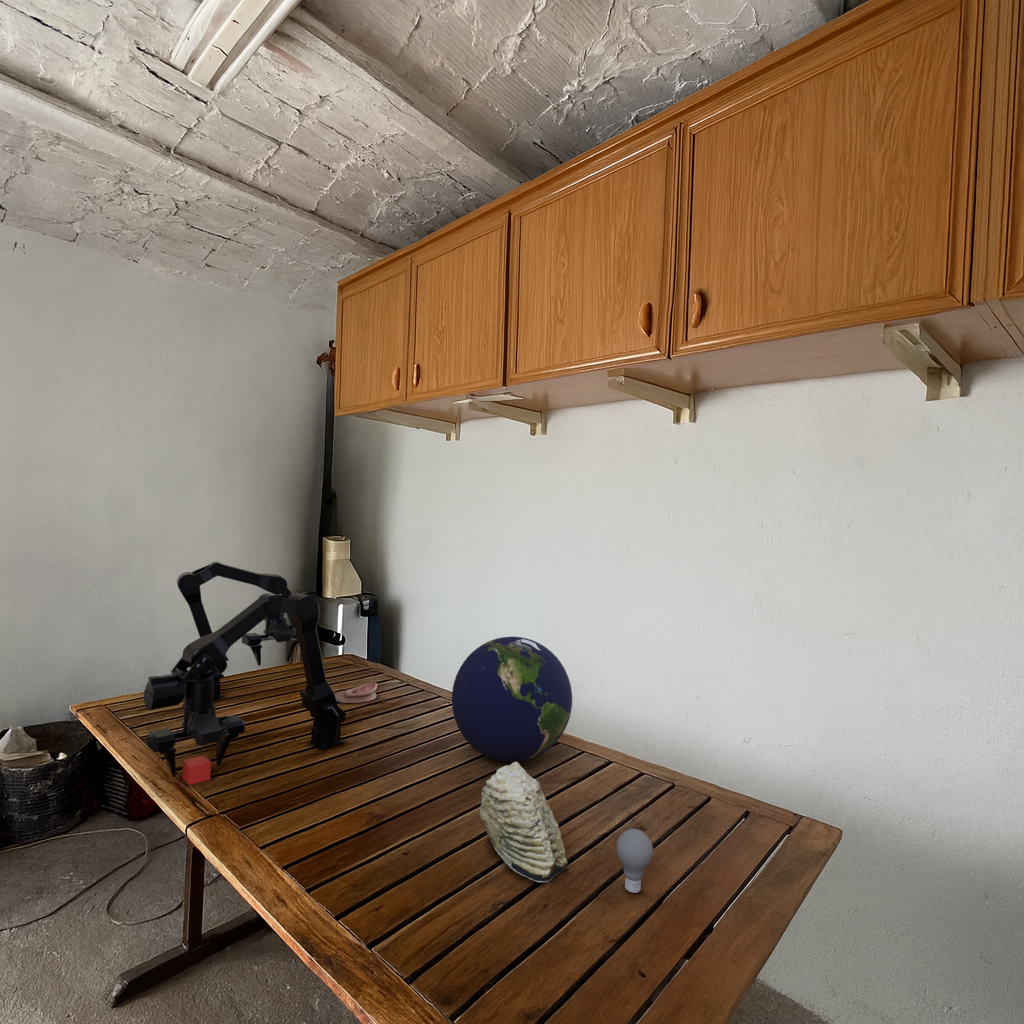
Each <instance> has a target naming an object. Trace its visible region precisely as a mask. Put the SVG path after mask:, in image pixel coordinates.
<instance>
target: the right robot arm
mask: <svg viewBox="0 0 1024 1024" xmlns="http://www.w3.org/2000/svg"><path fill="white" fill-rule="evenodd" d="M265 593H266V594H265ZM265 593H262V594H260V595H259V596H258V598H257V599H256V600H255V601H253V602H252V603H251V604H249V605H248V606H247V607H245V608H244V609H243V610H242V611H241V612H239V613H238V614H237V615H235V616H234V617H233V618H231V619H230V620H229V621H228V622H226V623H225V624H223V626H221V627H220V628H219V629H217V630H215V631H212V633H211V634H208V635H205V636H203V637H201V638H200V637H199V638H197V639H195V640H193V641H192V642H190V643H188V644H187V645H186V646H184V648H183V650H182V655H181V657H180V659H179V660H178V661H177V663H176V664H175V665H174V666H173V668H172V669H171V671H170V673H169V674H163V675H152V676H149V677H148V679H147V682H146V685H145V688H144V690H143V702H144V706H145V709H146V710H147V711H155V710H160V709H164V708H169V707H175V706H179V705H180V703H182V709H183V721H182V722H181V728H182V729H183V730H179V731H172V730H170V729H169V728H168V727H167V728H161V729H156V730H152V731H149V733H148V734H147V736H146V745H147V747H149V749H151V751H152V752H153V753H158V754H159V755H163V757H164V759H165V761H166V764H167V767H168V769H169V772H170V775H171V777H172V778H176V776H177V766H176V754H177V753H176V752H177V748H175V745H176V742H178V741H183V740H188V739H192V738H193V739H194V741H195V744H196V745H197V746H199V747H202V746H206V745H209V744H212V743H214V744H216V747H215V762H216V763H215V764H216V766H217V767H221V764H222V762H223V759H224V758H225V755H226V752H227V750H228V747H229V746H230V744H231V743H232V742H233V740H235V739H237V738H239V735H241V734H244V733H245V732H246V723H245V720H243V719H242V718H240V717H239V716H238V715H236V714H230V715H223V716H217V714H216V706H215V705H214V700H213V690H214V679H220V680H221V679H224V678H225V674H223V673H220V672H219V671H218V669H217V668H216V667H215V666H216V665H217V664H218V663H219V662H220V661H221V660H222V659H223V658H224V656H225V655H227V653H228V651H229V650H230V648H231V647H232V646H233V645H234V644H235V643H237V642H238V641H239V640H240V639H242V637H243V636H244V635H245V634H248V633H250V631H252V630H253V629H254V628H256V626H258V625H259V624H261V622H263V621H265V620H264V619H265V618H266V617H268V616H269V615H270V614H271V613H273V612H281V613H285V614H286V615H287V618H288V620H289V622H290V623H291V625H293V626H294V628H295V629H296V631H297V636H298V641H299V643H298V646H299V650H300V656H301V661H302V667H303V670H304V671H303V672H304V675H305V680H306V686H305V688H304V689H303V690H301V691H299V694H300V697H301V702H302V703H301V707H303V708H305V711H307V712H309V714H310V717H311V718H313V721H312V722H313V723H312V727H311V730H310V731H311V732H310V733H311V735H310V739H309V740H308V743H309V744H310V745H313V746H314V747H316V748H318V749H320V750H327V749H329V748H333V747H336V746H340V745H343V744H344V743H345V741H344V740H343V739H341V737H342V735H341V733H342V723H344V722H345V720H346V717H347V712H346V711H344V709H342V708H341V707H340V706H339V705H338V704H339V703H338V701H337V699H336V697H335V694H336V693H335V691H334V690H333V688H332V687H331V685H330V684H329V682H328V681H327V677H326V672H325V667H324V661H323V655H322V651H321V646H320V640H319V636H318V635H319V634H318V630H317V626H318V622H319V620H320V604H319V600H318V599H317V598H316V597H314V596H312V595H310V594H309V595H305V594H301V593H302V592H292V593H293V594H291V595H290V596H286V595H281V594H280V595H275V594H272V593H268V592H265ZM188 669H189V670H188Z"/></svg>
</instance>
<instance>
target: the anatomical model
mask: <svg viewBox="0 0 1024 1024" xmlns="http://www.w3.org/2000/svg"><path fill="white" fill-rule="evenodd" d="M377 688H378V683H377V682H370V683H366V684H363V685H359V686H356V687H353V688H349V689H346V690H343V691H340V692H337V693H334V694H335V697H336V699H337V702H339V703H342V704H344V703H345V704H355V703H357V704H358V703H366V702H370V701H374V700H375V699H376V698H377V696H378V695H377V693H376V691H377Z"/></svg>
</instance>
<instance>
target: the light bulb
mask: <svg viewBox="0 0 1024 1024" xmlns="http://www.w3.org/2000/svg"><path fill="white" fill-rule="evenodd" d="M615 849H616V854H617V857H618V859H619V861H620V863H621V865H622V867H623V873H624V874H623V875H624V876H625V878H624V888H625V890H627V891H628V892H630V893H634V894H635V893H639V892H640V891H641V889H642V887H641V886H642V879H643V877H644V875H645V871H646V868H647V867H648V866H649V864H650V863H651V861H652V859H653V855H654V847H653V843H652V841H651V838H649V836H648V835H647V834H646V833H645V832H643V831H642V830H641V829H636V828H629V829H627V830H625V831H623V832H622V833H621V834H620V835H619V837H618V839H617V841H616V847H615Z"/></svg>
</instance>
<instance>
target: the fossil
mask: <svg viewBox="0 0 1024 1024" xmlns="http://www.w3.org/2000/svg"><path fill="white" fill-rule="evenodd" d="M479 819H480V820H481V822H482V823H483V827H484V829H485V832H486V833H487V836H488V838H489V840H490V842H491V844H492V845H493V848H494V850H495V852H496V853H497V854H498V856H500V858H501V859H502V861H503V862H504V863H505V864H506V865H507V867H509V868H510V869H511V870H513V871H514V873H517V874H519V875H520V876H522V877H525V878H527V879H528V880H531V881H533V882H536V883H548V882H550V881H552V880H553V879H554V878H555V877H556V876H557V875H560V874H561V873H563V872H564V871H565V870H566V868H567V867H568V866H569V863H568V859H567V856H566V848H565V847H564V841H563V838H562V834H561V831H560V826H559V824H558V822H557V821H556V818H555V817H554V813H553V811H552V810H551V807H550V805H549V803H548V802H547V799H546V796H545V794H544V790H543V789H542V786H541V784H540V781H539V780H537V779H535V778H533V777H532V776H531V775H529V773H528V772H527V771H526V769H524V768H523V766H521V764H520V762H511V763H510V764H509V765H507V764H506V765H504V766H502V767H500V768H498V769H497V770H496V772H495V773H494V774H492V775H491V776H490V778H489V779H487V780H486V782H485V786H483V788H482V792H481V802H480V808H479Z"/></svg>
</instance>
